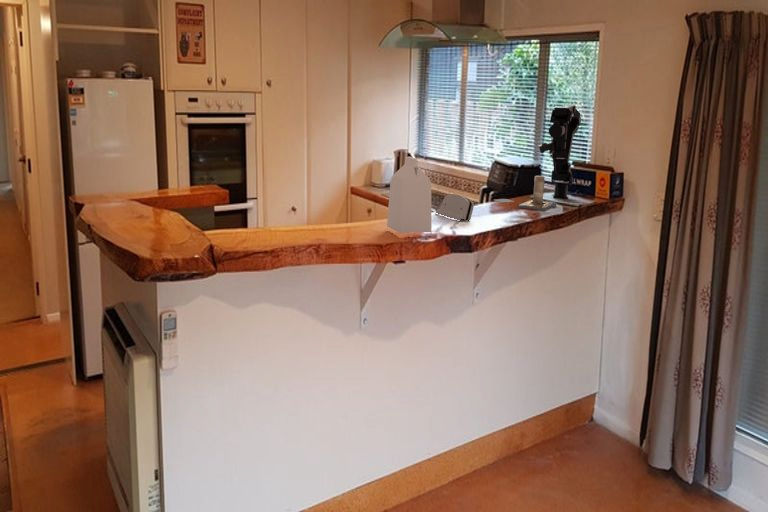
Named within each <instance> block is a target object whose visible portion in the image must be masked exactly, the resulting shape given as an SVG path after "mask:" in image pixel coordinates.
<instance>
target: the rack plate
mask: <svg viewBox="0 0 768 512" xmlns="http://www.w3.org/2000/svg"><path fill="white" fill-rule="evenodd" d="M556 206H557V202H554V201H545V200H543V204H542V205H537V204H533V199H530V200H528V201H525V202H523V203H520V204H518V209H519V208H520V209H527V210H533V211H534V210H535V211H540V212H545V211H547V210H549V209H552V208H555V207H556Z"/></svg>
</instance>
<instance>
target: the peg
mask: <svg viewBox="0 0 768 512" xmlns="http://www.w3.org/2000/svg"><path fill="white" fill-rule="evenodd" d="M545 179H546V177H545V176H543V175H535V176H534V181H533V182H534V185H533V194H532V195H533V198H532V200H533V204H537V205H542V204H543V201H544V200H543V199H544V190H545V189H544V188H545Z"/></svg>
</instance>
